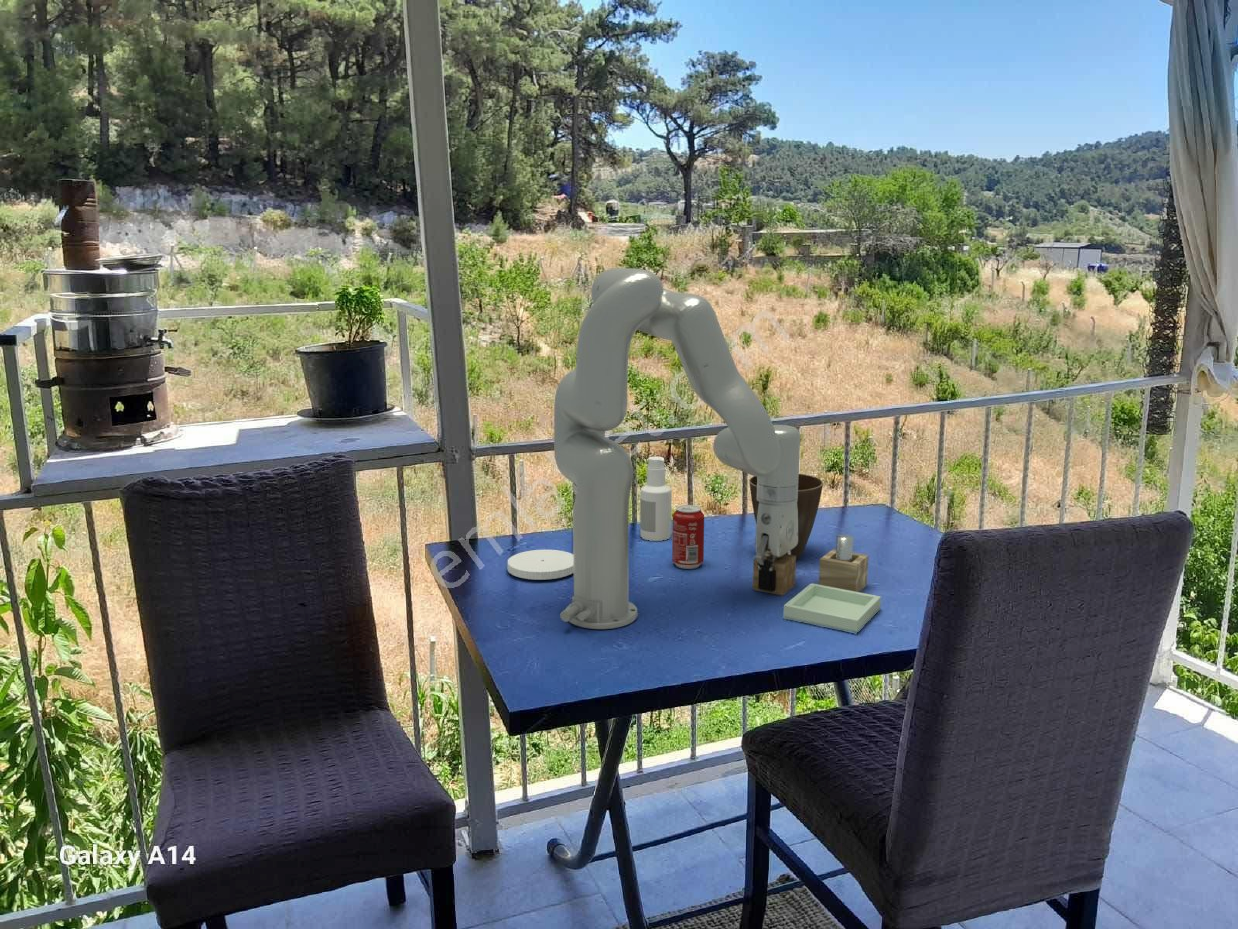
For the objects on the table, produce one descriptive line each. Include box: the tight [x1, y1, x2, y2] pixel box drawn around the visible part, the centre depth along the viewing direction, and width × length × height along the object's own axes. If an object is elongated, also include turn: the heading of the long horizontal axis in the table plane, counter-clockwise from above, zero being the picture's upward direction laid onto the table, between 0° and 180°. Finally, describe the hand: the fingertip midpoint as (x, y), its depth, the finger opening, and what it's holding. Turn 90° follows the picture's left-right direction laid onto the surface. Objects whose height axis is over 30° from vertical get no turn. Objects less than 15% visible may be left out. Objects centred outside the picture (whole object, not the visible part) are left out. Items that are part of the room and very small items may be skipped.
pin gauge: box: [835, 534, 854, 562], centre depth 178 cm, size 3×3×10 cm
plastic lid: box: [506, 549, 574, 581], centre depth 189 cm, size 14×14×2 cm
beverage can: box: [671, 504, 705, 570], centre depth 191 cm, size 6×6×12 cm
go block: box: [818, 548, 869, 593], centre depth 179 cm, size 7×7×6 cm
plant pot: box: [748, 473, 824, 560], centre depth 196 cm, size 15×15×16 cm
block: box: [752, 551, 797, 596], centre depth 178 cm, size 6×6×6 cm
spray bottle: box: [639, 456, 672, 542], centre depth 209 cm, size 7×7×18 cm
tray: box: [782, 582, 882, 633], centre depth 166 cm, size 13×13×2 cm
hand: (774, 583), depth 179 cm, fingers closed on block, 6 cm apart
